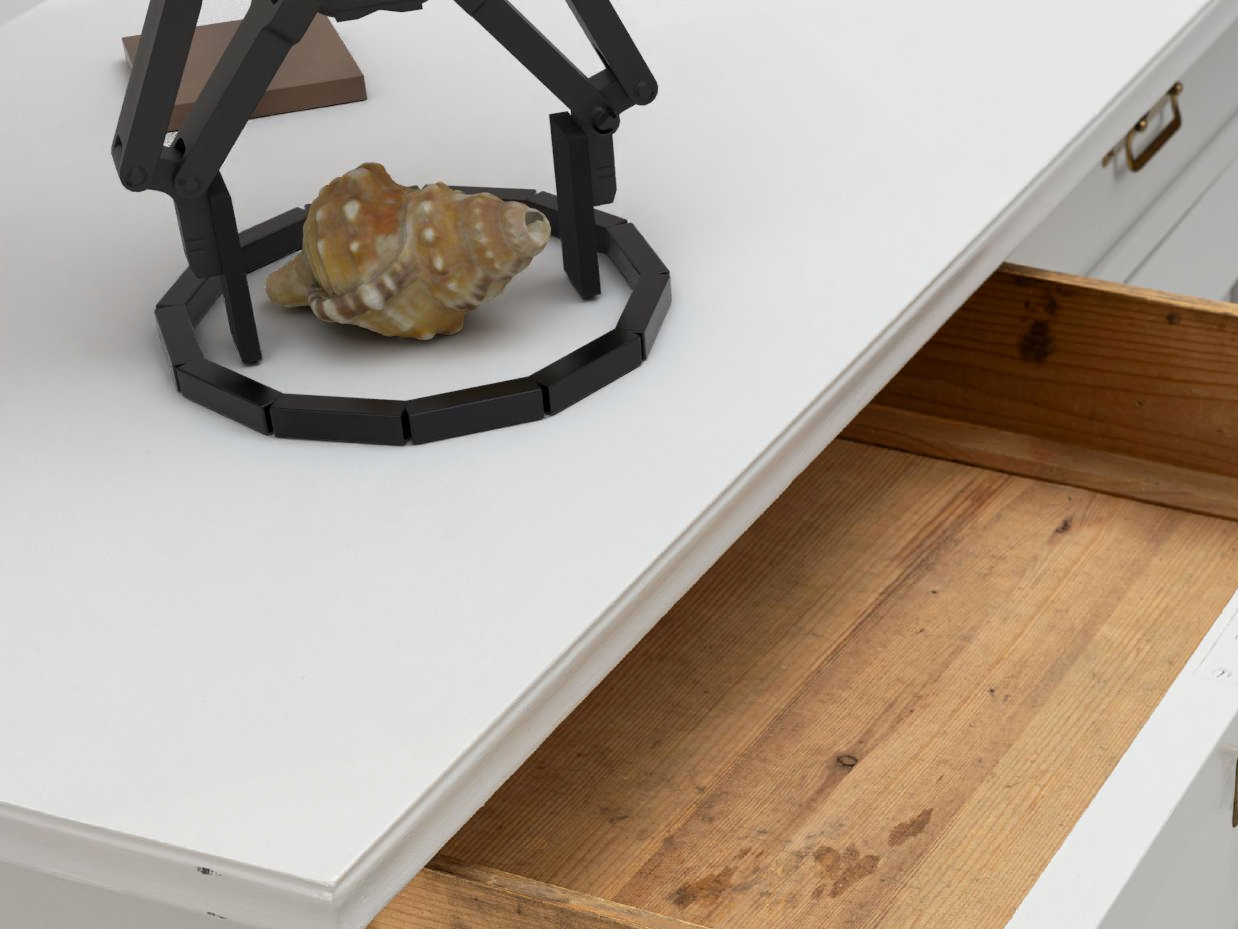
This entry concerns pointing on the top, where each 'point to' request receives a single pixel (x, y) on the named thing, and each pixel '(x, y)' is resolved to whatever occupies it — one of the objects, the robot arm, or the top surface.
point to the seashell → (405, 254)
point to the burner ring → (428, 413)
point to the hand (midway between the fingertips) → (417, 314)
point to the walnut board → (301, 82)
